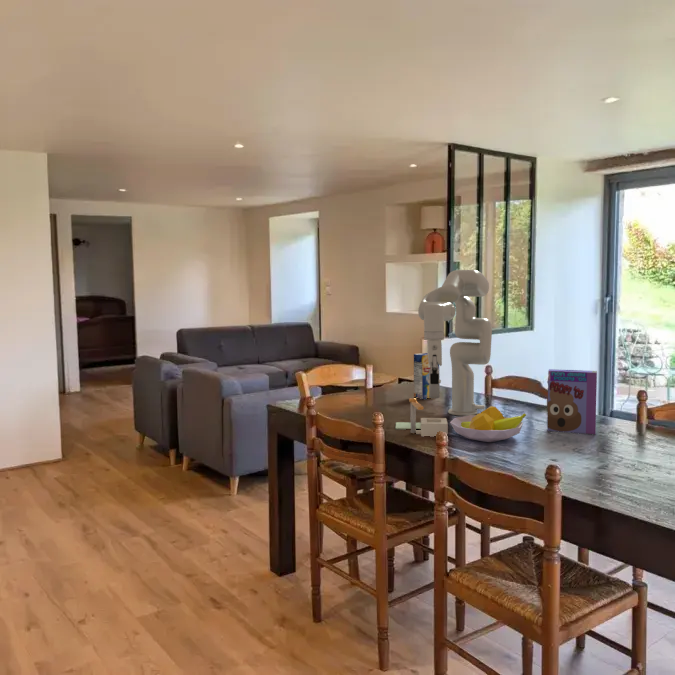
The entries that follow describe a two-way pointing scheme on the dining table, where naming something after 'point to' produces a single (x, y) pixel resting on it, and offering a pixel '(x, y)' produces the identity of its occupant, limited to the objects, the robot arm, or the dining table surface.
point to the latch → (416, 403)
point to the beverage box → (421, 375)
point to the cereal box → (572, 401)
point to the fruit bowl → (488, 425)
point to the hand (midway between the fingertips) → (434, 382)
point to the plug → (434, 388)
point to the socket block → (428, 424)
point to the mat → (406, 425)
